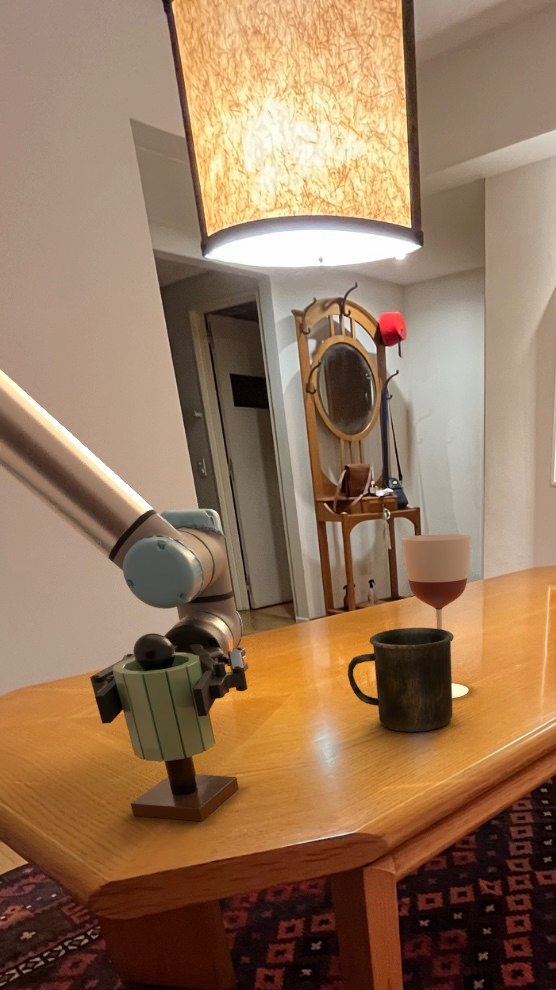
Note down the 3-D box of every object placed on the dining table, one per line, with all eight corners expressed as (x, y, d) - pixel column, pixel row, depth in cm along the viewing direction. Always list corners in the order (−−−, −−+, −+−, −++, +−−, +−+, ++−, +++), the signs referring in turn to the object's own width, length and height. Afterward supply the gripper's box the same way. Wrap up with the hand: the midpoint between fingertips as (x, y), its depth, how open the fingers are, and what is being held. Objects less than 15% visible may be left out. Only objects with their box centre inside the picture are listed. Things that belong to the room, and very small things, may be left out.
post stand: (133, 816, 71) (86, 642, 63) (175, 784, 78) (138, 624, 70) (201, 821, 70) (163, 644, 61) (238, 788, 77) (208, 625, 68)
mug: (462, 730, 91) (460, 642, 86) (355, 740, 89) (346, 650, 84) (448, 705, 101) (445, 625, 96) (350, 714, 99) (342, 632, 93)
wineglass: (475, 698, 104) (473, 539, 94) (410, 701, 103) (402, 541, 93) (469, 681, 112) (467, 533, 102) (409, 684, 112) (401, 535, 101)
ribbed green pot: (118, 759, 68) (95, 672, 64) (164, 731, 75) (145, 651, 71) (189, 763, 67) (169, 674, 63) (229, 734, 74) (213, 653, 70)
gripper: (286, 672, 87) (269, 734, 67) (117, 684, 85) (47, 751, 65) (278, 613, 84) (257, 660, 64) (101, 624, 81) (22, 675, 61)
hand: (151, 706), depth 64 cm, fingers closed on ribbed green pot, 8 cm apart
